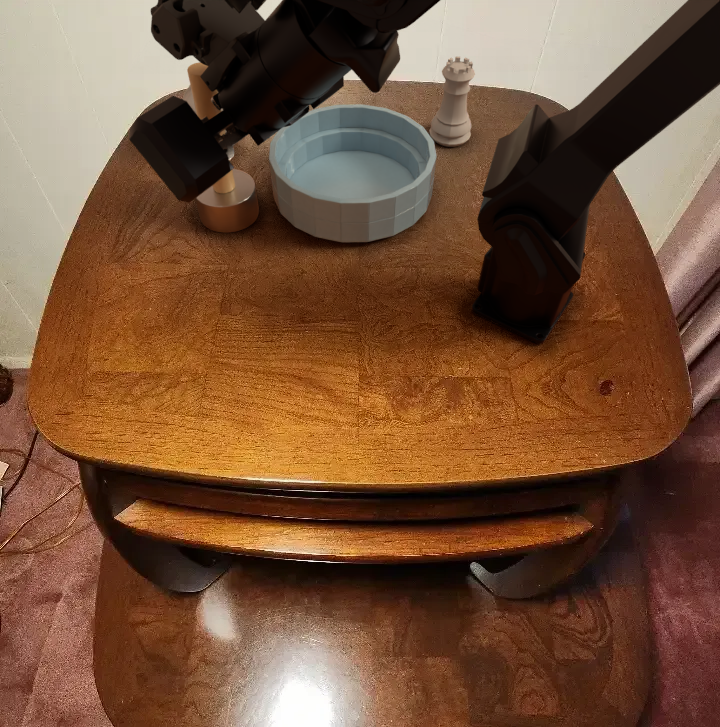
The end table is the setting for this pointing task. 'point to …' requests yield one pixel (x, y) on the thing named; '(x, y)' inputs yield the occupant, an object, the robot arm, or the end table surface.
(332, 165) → the bowl
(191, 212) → the end table surface
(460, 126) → the rook chess piece
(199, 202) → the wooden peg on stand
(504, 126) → the end table surface
